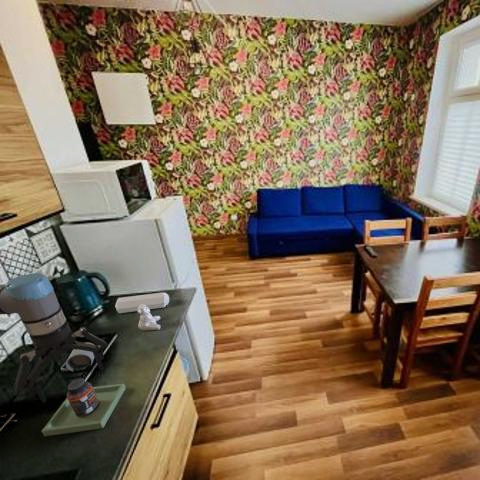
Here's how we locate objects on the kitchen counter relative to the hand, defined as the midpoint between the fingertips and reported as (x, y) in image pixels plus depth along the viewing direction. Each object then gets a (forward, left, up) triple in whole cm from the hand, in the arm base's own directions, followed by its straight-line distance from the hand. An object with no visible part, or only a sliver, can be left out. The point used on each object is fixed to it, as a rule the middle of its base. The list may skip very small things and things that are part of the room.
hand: (74, 382), depth 81 cm
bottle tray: (0, 0, -13) cm, 12 cm away
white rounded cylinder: (-6, +55, -13) cm, 57 cm away
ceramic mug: (-14, +20, -13) cm, 27 cm away
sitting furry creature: (+3, +39, -13) cm, 41 cm away
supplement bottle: (0, 0, -12) cm, 12 cm away
